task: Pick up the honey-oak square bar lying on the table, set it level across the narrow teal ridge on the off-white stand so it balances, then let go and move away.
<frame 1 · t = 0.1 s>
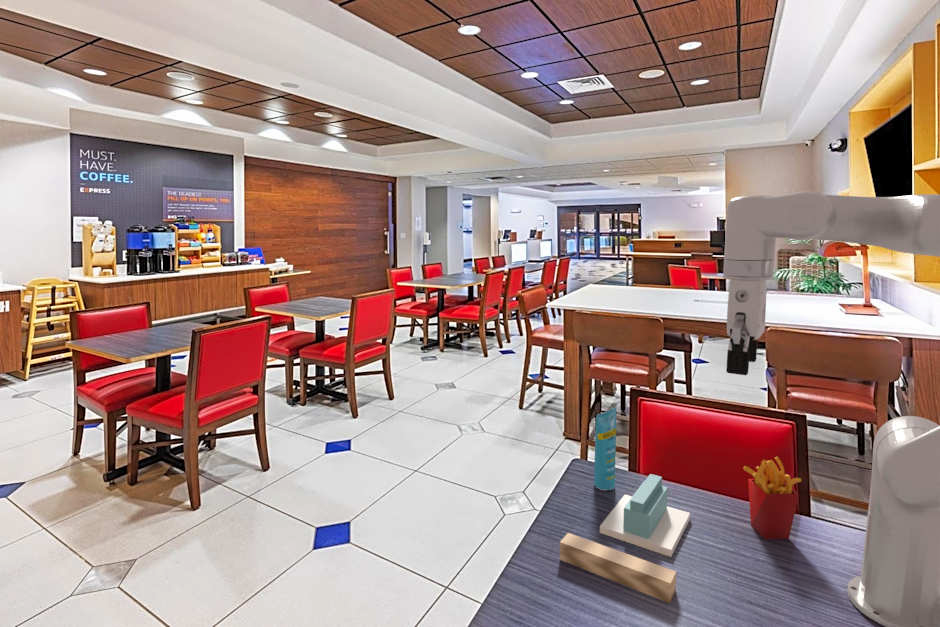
hand: (741, 366, 89), 37 cm above the table, tool pointing down, fingers open, 9 cm apart
oak bar: (614, 576, 91), on the table
french fries: (762, 529, 103), on the table
tube: (605, 487, 121), on the table
ridge stand: (645, 526, 105), on the table
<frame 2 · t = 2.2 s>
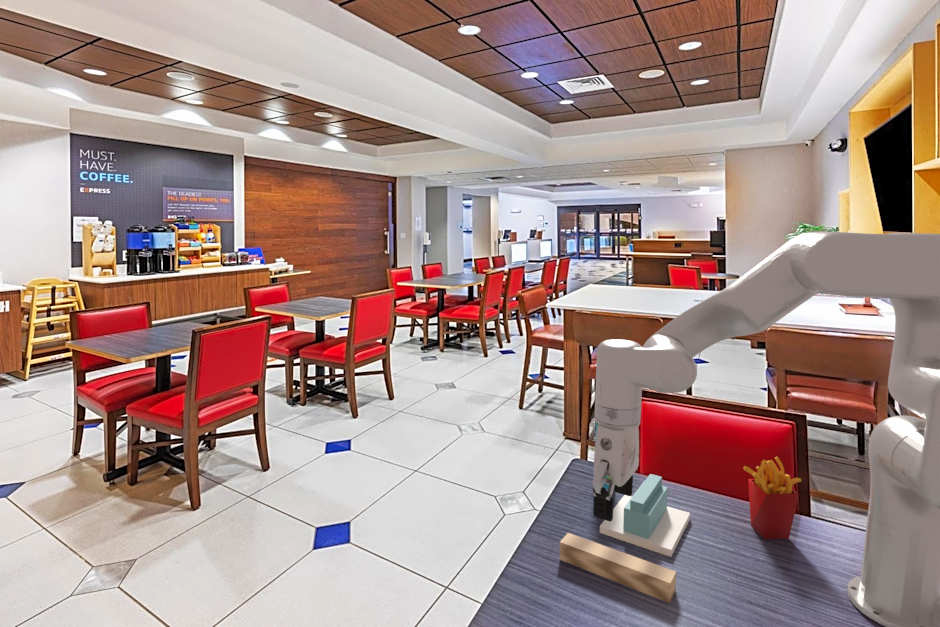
hand: (613, 505, 89), 13 cm above the table, tool pointing down, fingers open, 9 cm apart
nothing on the table moved.
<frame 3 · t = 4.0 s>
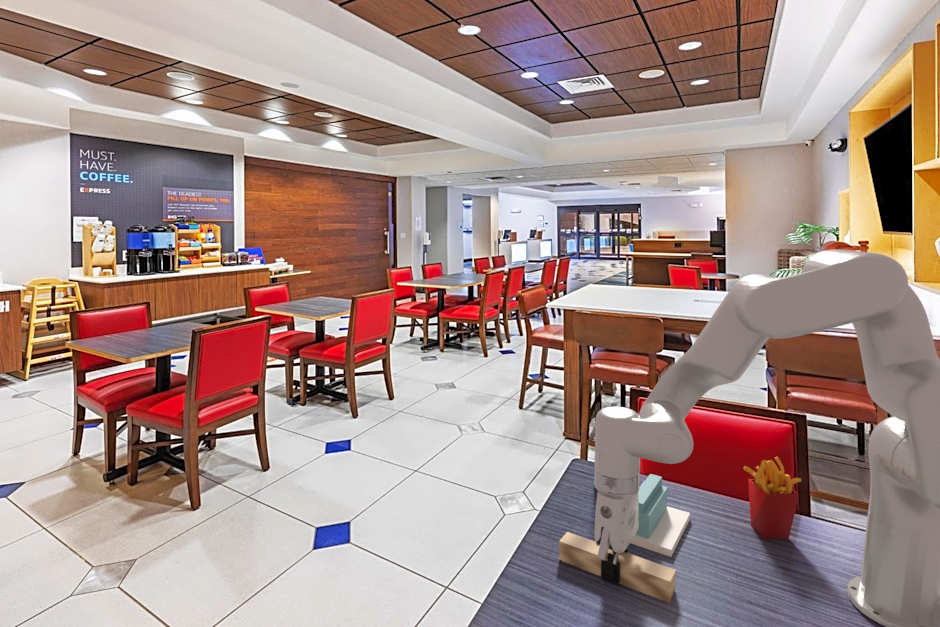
hand: (614, 572, 91), 0 cm above the table, tool pointing down, fingers closed on oak bar, 3 cm apart
oak bar: (614, 574, 91), on the table, touching gripper
everything else where it was.
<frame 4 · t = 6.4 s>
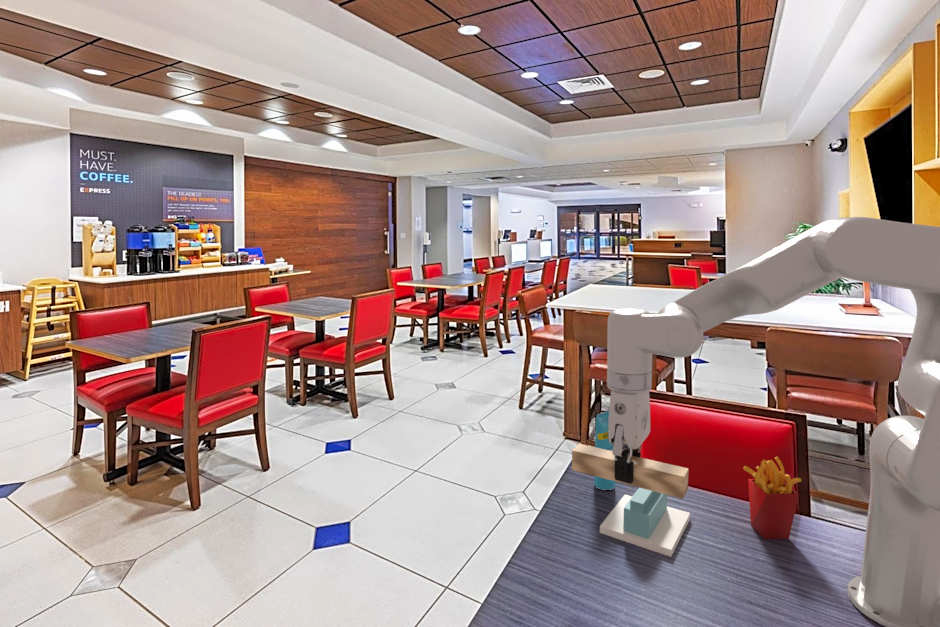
hand: (627, 475, 92), 17 cm above the table, tool pointing down, fingers closed on oak bar, 3 cm apart
oak bar: (627, 479, 92), point 16 cm above the table, touching gripper
everything else where it was.
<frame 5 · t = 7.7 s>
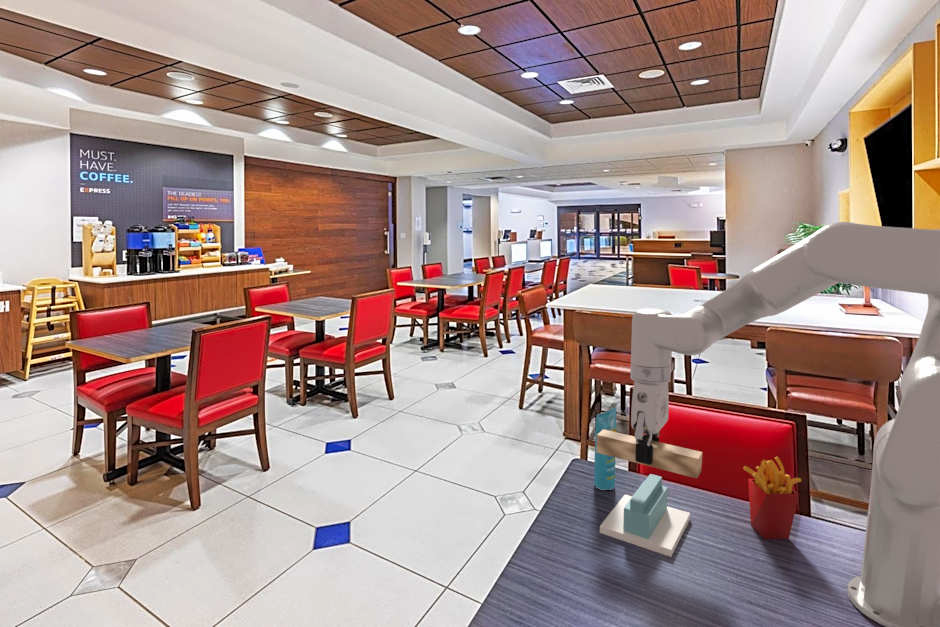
hand: (647, 457, 103), 15 cm above the table, tool pointing down, fingers closed on oak bar, 3 cm apart
oak bar: (646, 461, 103), point 14 cm above the table, touching gripper
everything else where it was.
when the fingers open (10 cm above the table, at t = 8.8 s): oak bar stays where it is, resting on ridge stand.
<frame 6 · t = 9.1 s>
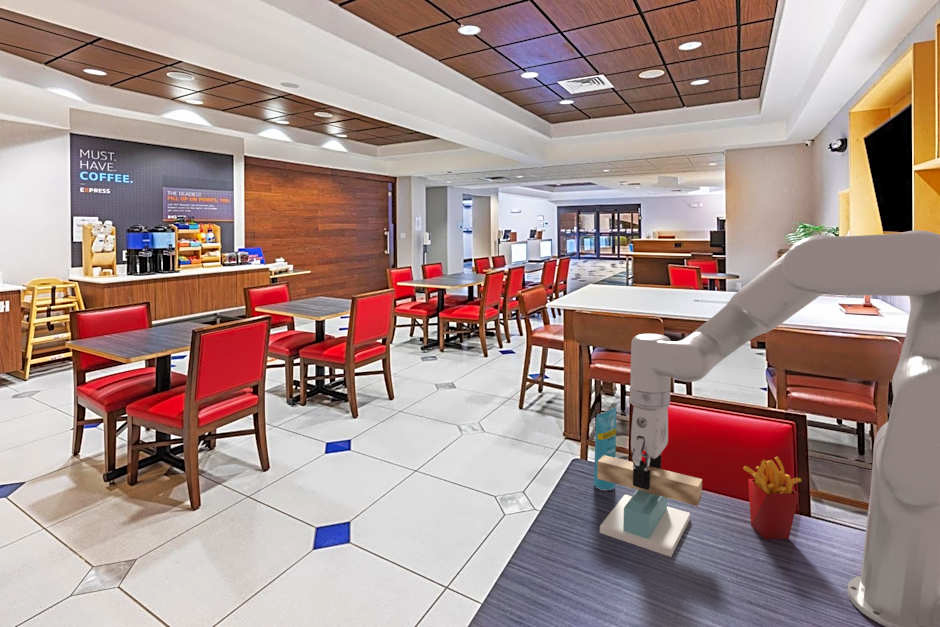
hand: (647, 478, 103), 11 cm above the table, tool pointing down, fingers open, 7 cm apart
oak bar: (647, 487, 104), point 8 cm above the table, touching ridge stand
everything else where it was.
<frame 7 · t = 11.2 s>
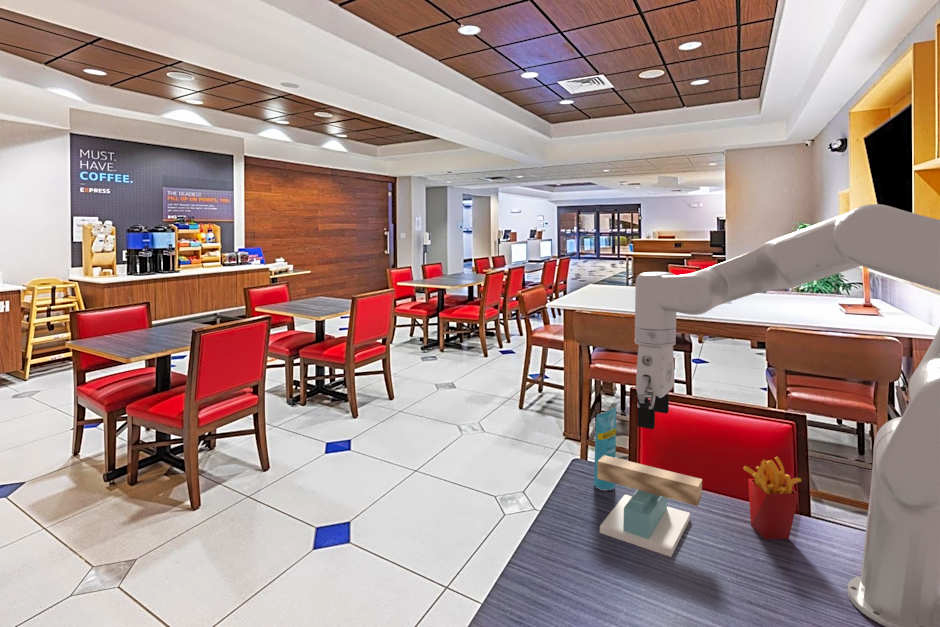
hand: (653, 419, 101), 23 cm above the table, tool pointing down, fingers open, 9 cm apart
nothing on the table moved.
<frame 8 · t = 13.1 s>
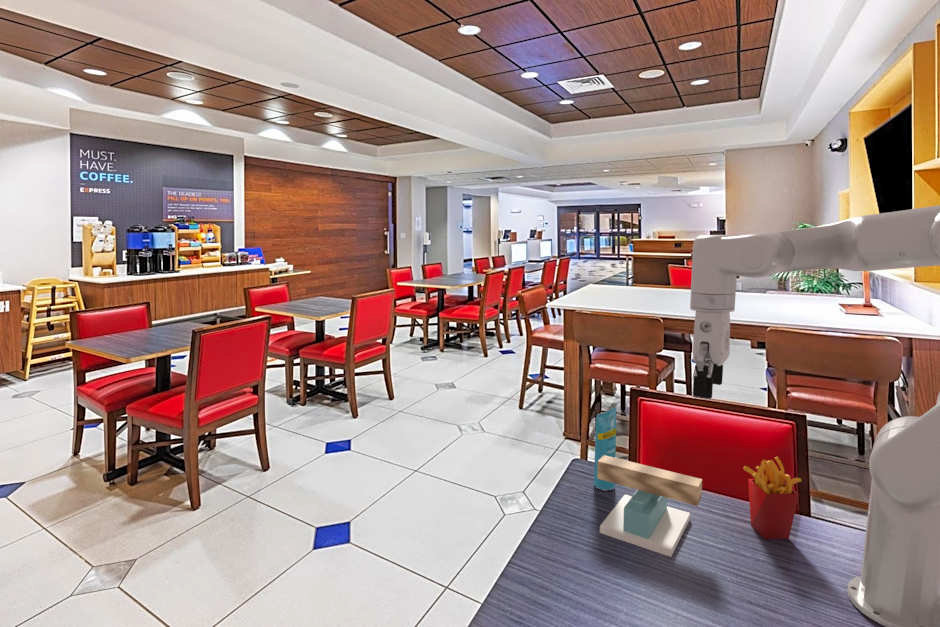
hand: (707, 390, 97), 30 cm above the table, tool pointing down, fingers open, 9 cm apart
nothing on the table moved.
at the end: oak bar inside the target area on the ridge stand (0.1 cm from its centre), point 8.5 cm above the ridge stand's base; oak bar tilted 0°; the gripper is holding nothing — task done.
